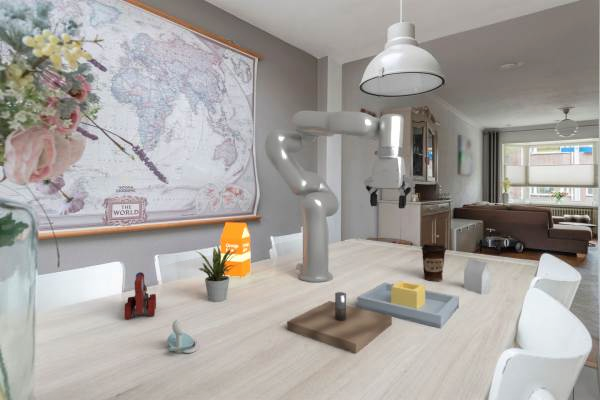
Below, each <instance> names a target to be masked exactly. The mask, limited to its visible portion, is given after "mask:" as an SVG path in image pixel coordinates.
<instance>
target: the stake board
mask: <svg viewBox="0 0 600 400" xmlns="http://www.w3.org/2000/svg"><path fill="white" fill-rule="evenodd" d="M392 320H393V317H392V316H388V315H384V314H380V313H376V312H372V311H368V310H364V309H360V308H357V306H356V307H355V306H351V305H347V304H346V320H345V321H337V320H335V301H331V300H328V301H326V302H324V303H322V304H320V305H318V306H316V307H313V308H311V309H310V310H308V311H305V312H304V313H301V314H299V315H298V316H297V315H296V316H295V317H294V318H291V319H289V320H287V321H286V330H287V331H290V332H292V333H295V334H298V335H301V336H304V337H306V338H309V339H311V340H316V341H319V342H320V343H324V344H327V345H329V346H333V347H335V348H338V349H341V350H344V351H347V352H349V353H353V354H357V353H359V352H360V351H361V350H362V349H364V348H365V347H366V346H367V345H369V344H370V343H371V342H372V341H374V340H375V339H376V338H377V337H378V336H379V335H381V334H383V332H384V331H387V329H388V328H389V327H391V326H392V324H393V323H392V322H393V321H392Z"/></svg>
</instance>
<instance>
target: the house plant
mask: <svg viewBox="0 0 600 400" xmlns="http://www.w3.org/2000/svg"><path fill="white" fill-rule="evenodd" d="M212 247H213V250H212V265H211V263H210V261H209V260H208V259H207V257H206V256H205V255H203V254H202V253H201V252H199V251H195V252H196V253H198V254H199V255H200V257H201V258H202V259H204V261H205V263H206V264H205V263H203V262H202V265H203V268H202V267H200V268H198V270H200V271H201V272H203V273H205V274H207V276H208V277H205V279H204V282H205V288H206V292H207V293H206V294H207V299H208V302H211V301H213V302H214V303H219V302H224V301H226V300H227V297H228V290H229V283H230V277H228V276H225V275H226V274H227V273H228V272H227V271H228V270H230V269H232V268H233V267H234V266H235V265H229V266H227V267H226V265H227V264H228V263H227V264H225V262H226V261H227V259H228V258H229V257H230V256H231V255H232V254H233V253H234V252H236V251H238V250H236V251H234V252H232V253H231V254H229V253H230V252H231V251H230V250H231V249H232V248H231V249H229V250H228V251H227V252H226V253H225V255H224V257H223V259H222V262H221V248H220V245H218V244H217V245H216V247H217V249H216V248H215V247H214V245H212ZM240 250H243V249H240ZM228 255H229V256H228ZM222 256H223V255H222ZM227 256H228V258H227ZM235 256H238V255H235ZM233 257H234V256H233ZM233 257H232V258H233ZM226 258H227V259H226ZM232 258H231V259H232ZM231 259H230V260H231ZM225 260H226V261H225ZM230 260H229V261H230ZM229 261H228V262H229ZM224 264H225V265H224ZM236 265H237V264H236ZM230 266H233V267H232V268H230V269H227V268H228V267H230ZM224 267H226V268H224ZM236 267H237V266H236ZM224 271H225V272H226V274H225V273H224ZM224 274H225V275H224ZM223 275H224V276H223ZM213 302H212V303H213Z"/></svg>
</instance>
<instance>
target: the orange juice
mask: <svg viewBox="0 0 600 400" xmlns="http://www.w3.org/2000/svg"><path fill="white" fill-rule="evenodd" d="M224 224H225V225H224V227H223V229H222V230H223V231H222V233H221V237H220V251H221V262H222V259H223V257H224V255H225V253H226V252H227V251H228V250H229V249H231V248H232V249H231V250H230V251H231V252H230V253H229V254H231V253H232V252H234V251H236V250H238V251H236V252H234V253H233V254H232V255H231V256H230V257H229V258H228V256H229V255H228V256H227V258H228V259H227V258H226V259H227V261H226V260H225V261H226V262H225V264H227V263H228V264H227V265H226V267H227V266H229V265H235V266H234V267H233V266H230V267H228V268H227V269H230V268H232V267H233V268H232V269H230V270H228V271H227V272H228V273H227V274H226V272H225V271H224V273H225V274H226V275H230V276H240V277H242V276H244V275H246V274H247V273H249V272H250V273H251V234H250V232H249V229H248V226H247V223H246V222H228V221H227V222H225V223H224ZM240 249H243V250H240ZM222 255H223V256H222ZM235 255H238V256H235ZM233 256H234V257H233ZM232 257H233V258H232ZM231 258H232V259H231ZM230 259H231V260H230ZM229 260H230V261H229ZM228 261H229V262H228ZM225 264H224V265H225ZM236 264H237V265H236ZM236 266H237V267H236ZM226 267H224V268H226ZM250 273H249V274H250ZM225 274H224V275H225ZM247 275H248V274H247ZM247 275H246V276H247ZM244 277H245V276H244ZM242 278H243V277H242Z"/></svg>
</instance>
